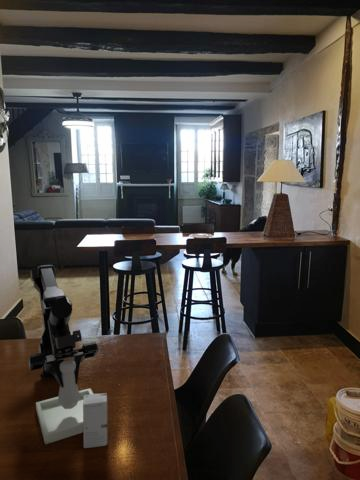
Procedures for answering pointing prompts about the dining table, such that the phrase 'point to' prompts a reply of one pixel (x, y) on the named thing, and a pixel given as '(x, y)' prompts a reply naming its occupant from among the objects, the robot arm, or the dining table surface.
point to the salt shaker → (68, 385)
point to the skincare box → (95, 420)
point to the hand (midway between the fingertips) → (69, 385)
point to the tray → (60, 418)
